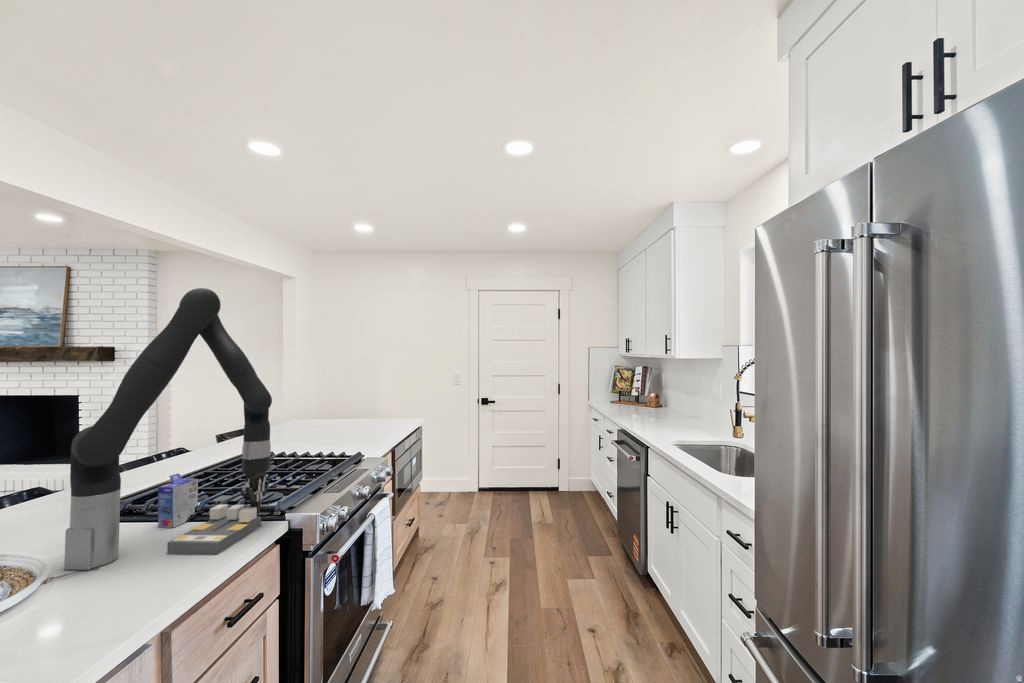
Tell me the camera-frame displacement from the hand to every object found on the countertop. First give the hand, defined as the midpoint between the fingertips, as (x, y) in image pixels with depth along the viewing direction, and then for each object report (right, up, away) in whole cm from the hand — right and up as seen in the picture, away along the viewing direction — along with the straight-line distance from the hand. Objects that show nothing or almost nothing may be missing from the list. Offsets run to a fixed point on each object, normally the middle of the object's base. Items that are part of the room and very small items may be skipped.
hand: (255, 513), depth 139 cm
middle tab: (-5, 0, -2) cm, 5 cm away
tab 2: (0, 0, -4) cm, 4 cm away
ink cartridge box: (-26, -4, +4) cm, 26 cm away
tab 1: (-10, 0, -2) cm, 10 cm away
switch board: (-5, -4, -10) cm, 12 cm away
